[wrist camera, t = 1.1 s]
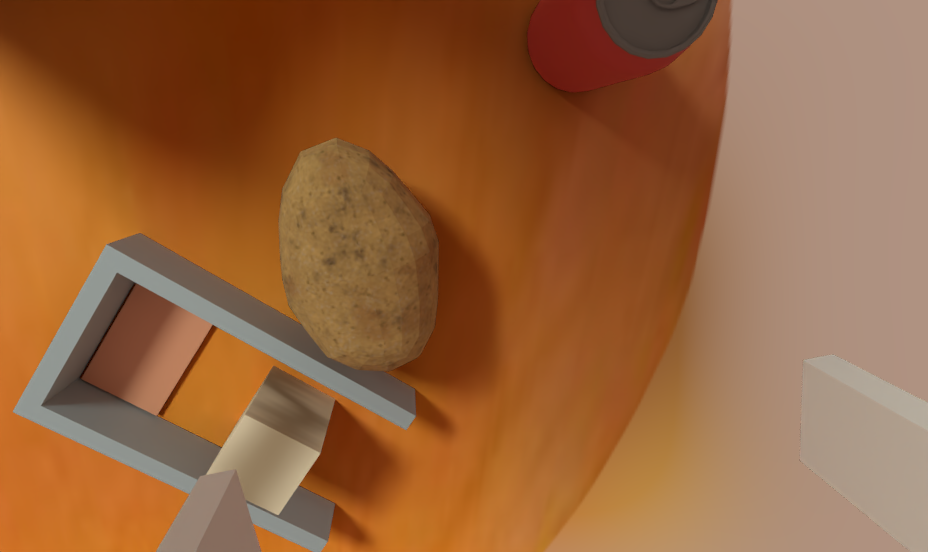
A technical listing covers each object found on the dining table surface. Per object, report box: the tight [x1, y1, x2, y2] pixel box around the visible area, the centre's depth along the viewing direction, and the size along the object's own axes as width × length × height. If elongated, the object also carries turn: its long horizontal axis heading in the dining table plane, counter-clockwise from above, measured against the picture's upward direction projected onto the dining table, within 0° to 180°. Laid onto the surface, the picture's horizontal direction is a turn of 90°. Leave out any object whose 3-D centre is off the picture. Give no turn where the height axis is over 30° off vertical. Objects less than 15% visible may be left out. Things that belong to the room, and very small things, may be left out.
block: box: [206, 366, 335, 515], centre depth 35 cm, size 5×5×7 cm
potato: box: [279, 138, 439, 371], centre depth 33 cm, size 10×14×8 cm
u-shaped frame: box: [13, 233, 416, 552], centre depth 36 cm, size 21×12×4 cm, turn 56°
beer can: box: [527, 0, 717, 92], centre depth 29 cm, size 7×7×12 cm
